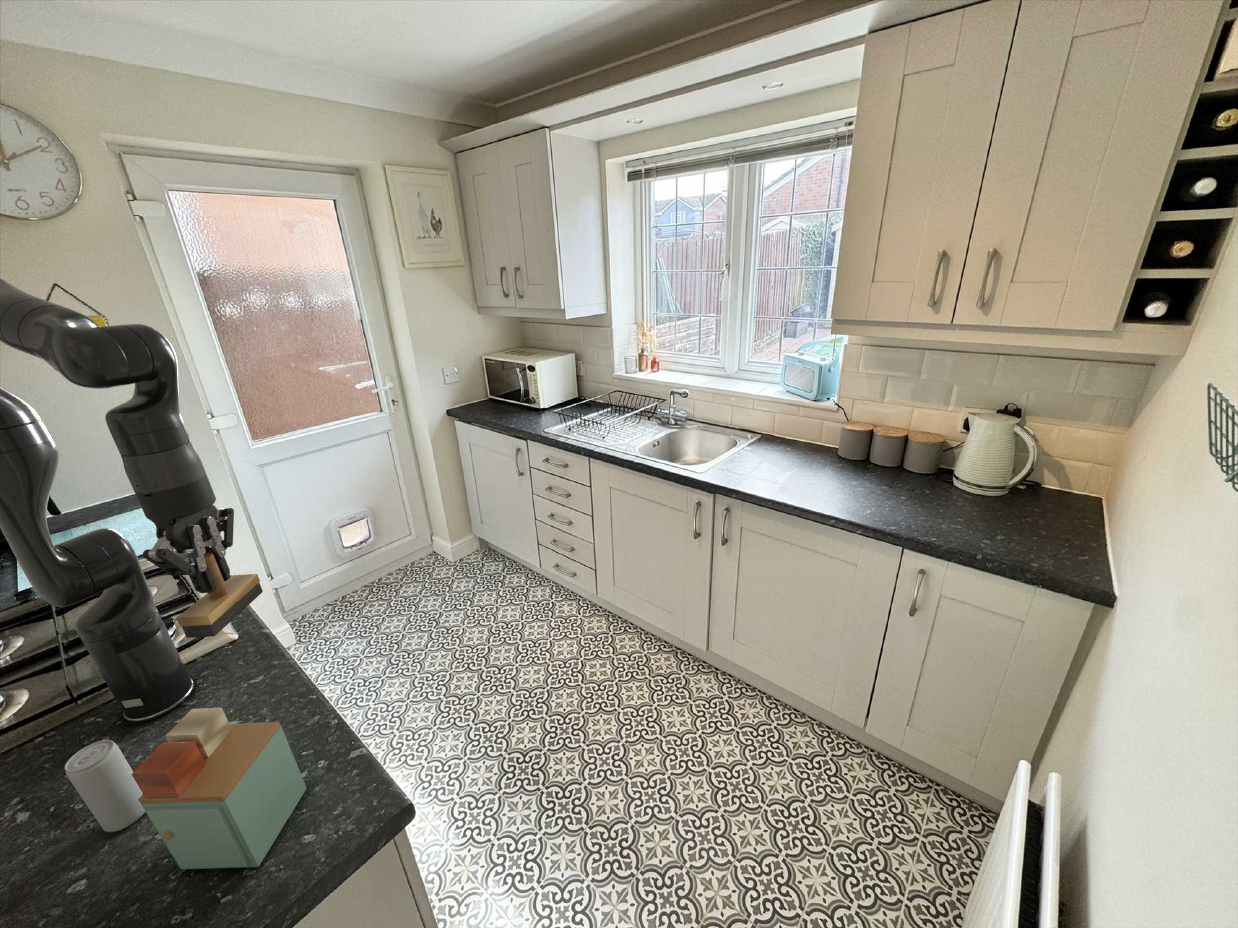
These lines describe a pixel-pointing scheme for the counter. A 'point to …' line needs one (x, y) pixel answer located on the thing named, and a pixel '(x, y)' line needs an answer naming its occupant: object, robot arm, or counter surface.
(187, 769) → the terracotta block
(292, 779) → the cupboard
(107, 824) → the beverage can
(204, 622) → the brush
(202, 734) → the cream block
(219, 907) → the counter surface
